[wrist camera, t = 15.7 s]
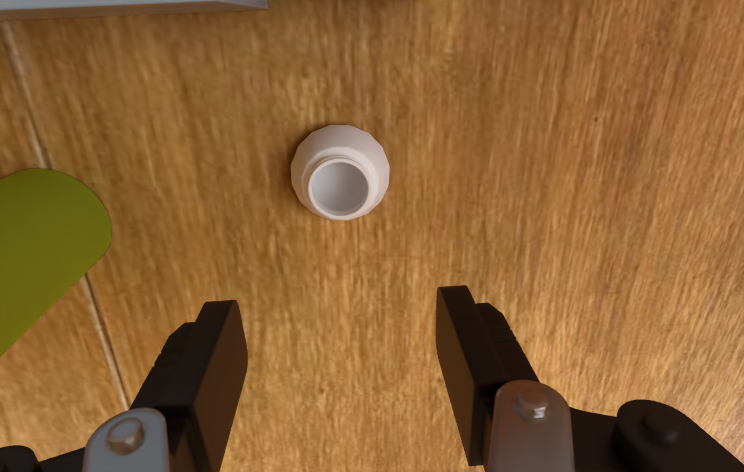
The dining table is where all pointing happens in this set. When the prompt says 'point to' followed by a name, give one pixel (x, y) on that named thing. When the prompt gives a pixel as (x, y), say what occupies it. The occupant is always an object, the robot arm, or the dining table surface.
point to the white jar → (340, 172)
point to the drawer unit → (116, 7)
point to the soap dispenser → (44, 244)
